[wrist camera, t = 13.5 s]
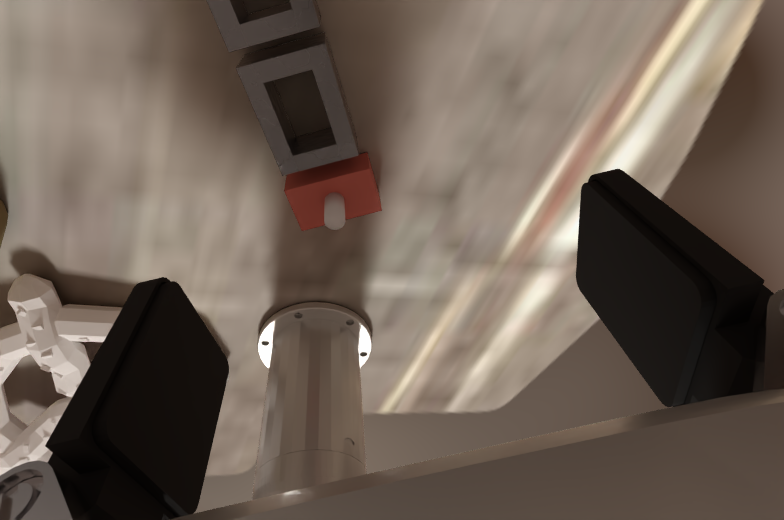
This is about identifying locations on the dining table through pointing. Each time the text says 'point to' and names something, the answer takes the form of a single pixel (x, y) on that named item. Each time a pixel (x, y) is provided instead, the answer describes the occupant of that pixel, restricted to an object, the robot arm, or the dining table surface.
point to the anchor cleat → (333, 193)
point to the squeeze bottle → (2, 220)
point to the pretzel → (45, 359)
